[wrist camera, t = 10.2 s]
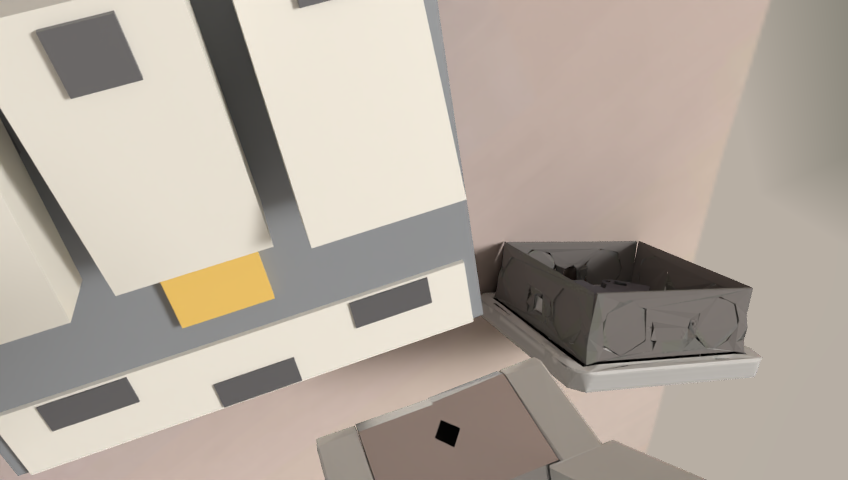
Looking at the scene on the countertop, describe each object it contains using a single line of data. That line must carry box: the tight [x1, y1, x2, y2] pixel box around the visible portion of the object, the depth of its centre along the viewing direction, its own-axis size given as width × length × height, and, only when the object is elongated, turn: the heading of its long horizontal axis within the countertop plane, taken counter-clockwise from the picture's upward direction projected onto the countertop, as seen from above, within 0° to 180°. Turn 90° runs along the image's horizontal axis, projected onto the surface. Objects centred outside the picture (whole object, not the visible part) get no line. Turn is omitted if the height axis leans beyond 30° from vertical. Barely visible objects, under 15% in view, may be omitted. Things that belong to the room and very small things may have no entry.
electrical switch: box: [481, 241, 762, 393], centre depth 32 cm, size 9×5×9 cm, turn 79°
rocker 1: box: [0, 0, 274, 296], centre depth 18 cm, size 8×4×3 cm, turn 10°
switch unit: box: [0, 0, 483, 476], centre depth 22 cm, size 22×18×6 cm
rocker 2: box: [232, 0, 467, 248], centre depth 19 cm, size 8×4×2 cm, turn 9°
